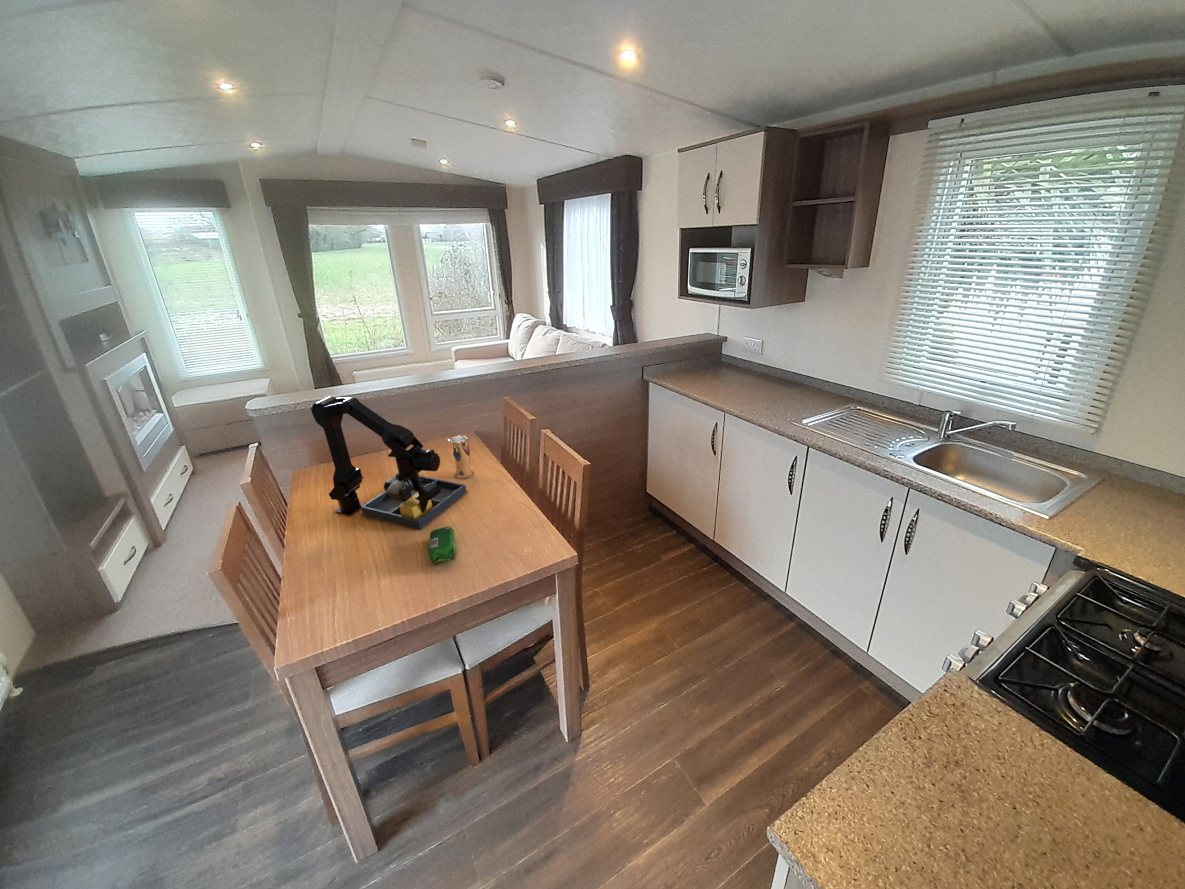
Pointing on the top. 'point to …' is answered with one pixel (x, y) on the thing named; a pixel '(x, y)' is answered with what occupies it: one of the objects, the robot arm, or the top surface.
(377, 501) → the tray
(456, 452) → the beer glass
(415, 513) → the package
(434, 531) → the snack package
